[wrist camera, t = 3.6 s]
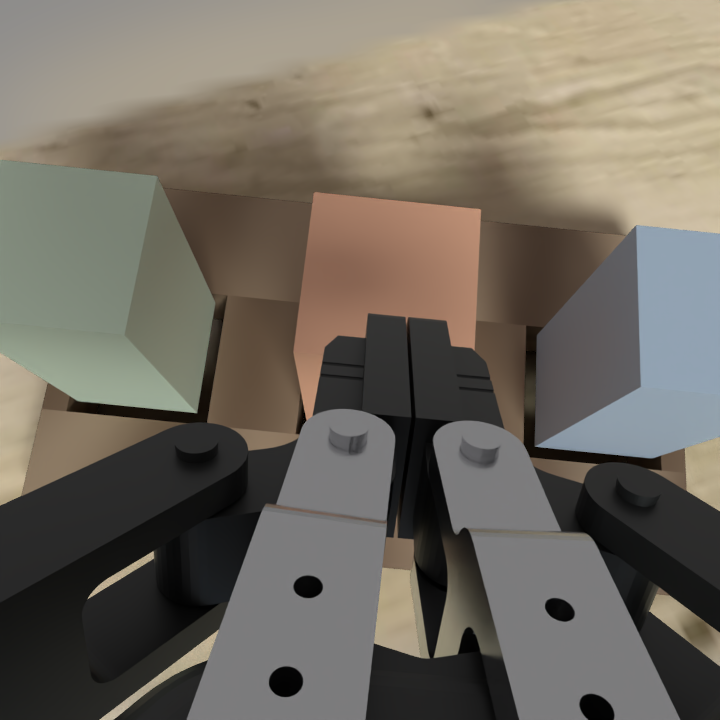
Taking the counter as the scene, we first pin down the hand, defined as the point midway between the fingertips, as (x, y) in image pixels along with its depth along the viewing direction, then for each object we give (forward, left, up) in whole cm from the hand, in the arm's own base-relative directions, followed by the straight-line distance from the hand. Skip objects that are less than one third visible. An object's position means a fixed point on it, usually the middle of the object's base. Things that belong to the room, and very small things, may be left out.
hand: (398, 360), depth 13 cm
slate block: (-8, -3, -12) cm, 15 cm away
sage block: (+9, -3, -12) cm, 15 cm away
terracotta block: (0, -3, -12) cm, 13 cm away
